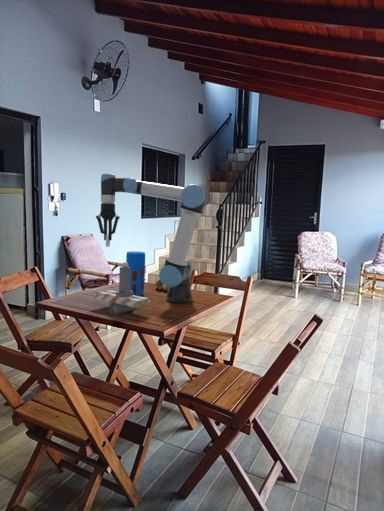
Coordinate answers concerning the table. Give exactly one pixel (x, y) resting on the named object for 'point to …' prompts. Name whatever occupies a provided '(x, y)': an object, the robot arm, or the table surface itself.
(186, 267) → the robot arm
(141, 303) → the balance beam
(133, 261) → the thermos
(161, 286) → the ginger root
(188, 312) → the table surface
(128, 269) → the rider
